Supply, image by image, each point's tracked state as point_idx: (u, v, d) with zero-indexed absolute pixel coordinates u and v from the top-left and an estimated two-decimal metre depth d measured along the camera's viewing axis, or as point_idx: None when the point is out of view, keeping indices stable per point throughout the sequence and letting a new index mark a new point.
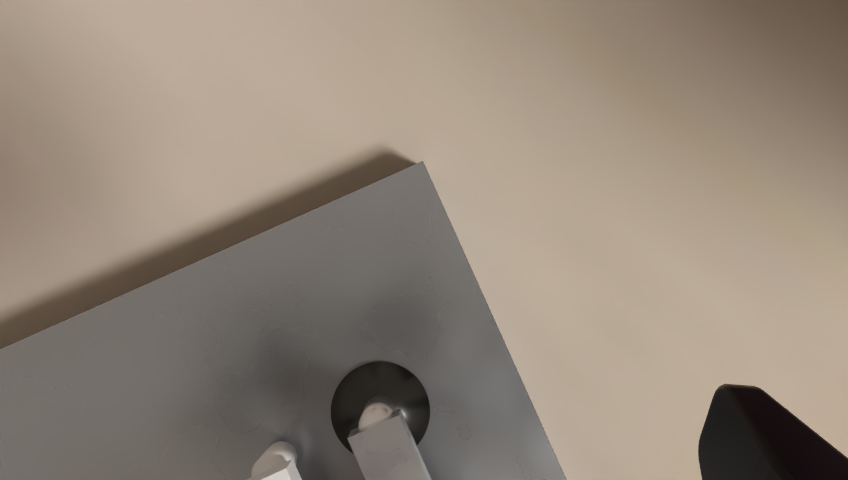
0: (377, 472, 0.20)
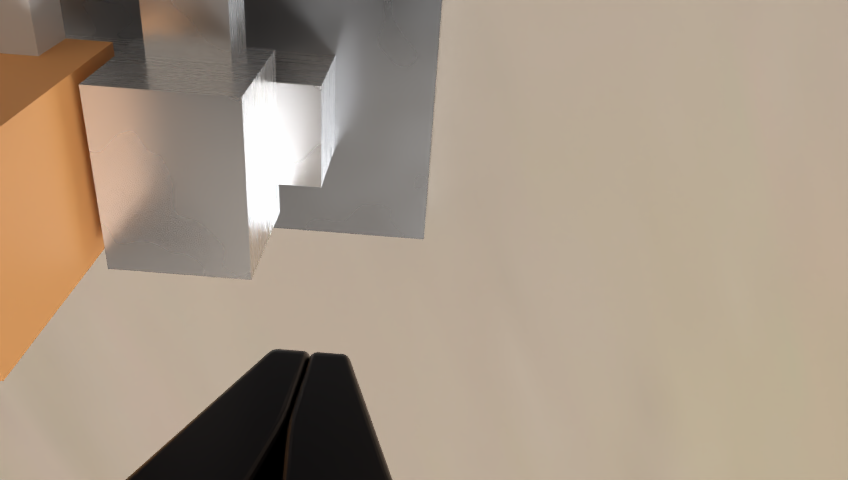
0: None
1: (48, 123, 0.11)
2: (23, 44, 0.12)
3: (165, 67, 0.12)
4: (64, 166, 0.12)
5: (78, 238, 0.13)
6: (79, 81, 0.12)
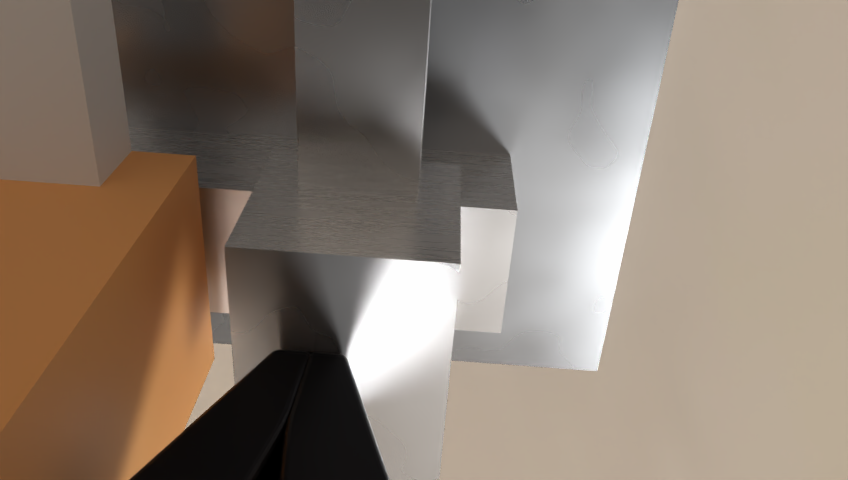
0: None
1: (125, 304, 0.08)
2: (79, 171, 0.09)
3: (331, 206, 0.09)
4: (141, 353, 0.08)
5: (156, 438, 0.09)
6: (160, 226, 0.09)
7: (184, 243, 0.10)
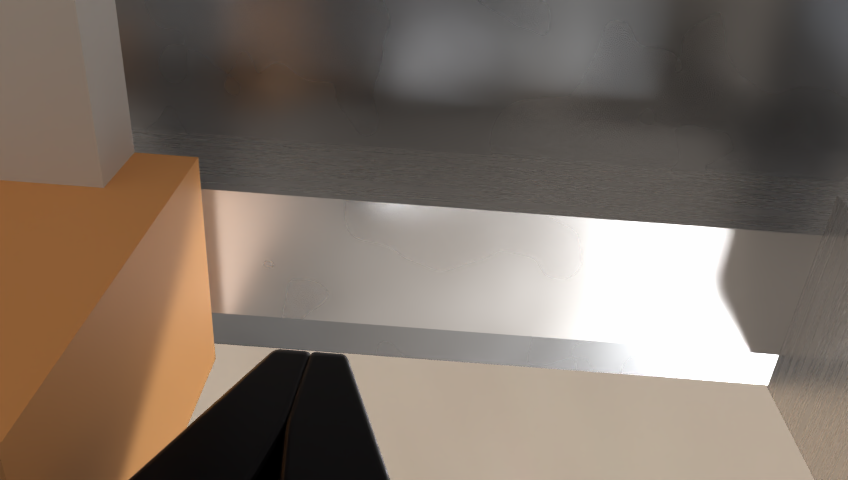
0: None
1: (129, 303, 0.08)
2: (83, 172, 0.09)
3: None
4: (144, 353, 0.08)
5: (158, 438, 0.09)
6: (163, 227, 0.09)
7: (185, 244, 0.10)
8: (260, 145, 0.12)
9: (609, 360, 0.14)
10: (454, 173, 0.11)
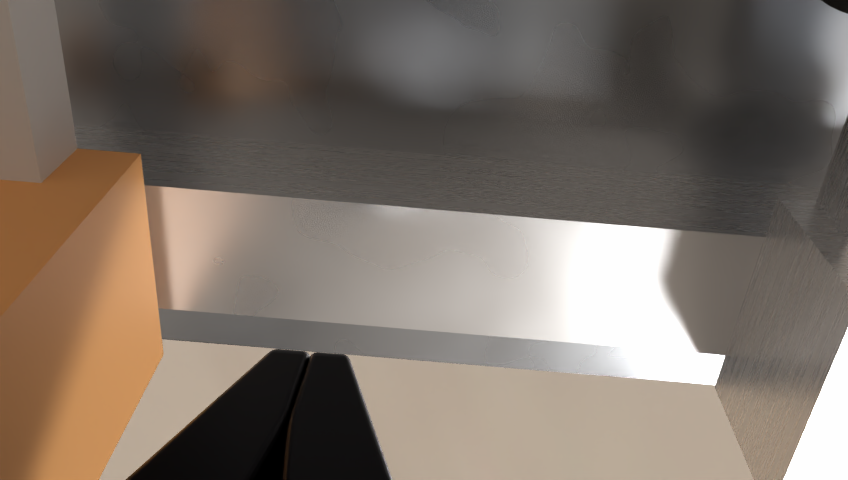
0: None
1: (57, 297, 0.08)
2: (20, 167, 0.09)
3: None
4: (75, 345, 0.09)
5: (94, 431, 0.09)
6: (98, 222, 0.09)
7: (127, 240, 0.10)
8: (215, 143, 0.12)
9: (565, 360, 0.14)
10: (405, 172, 0.12)
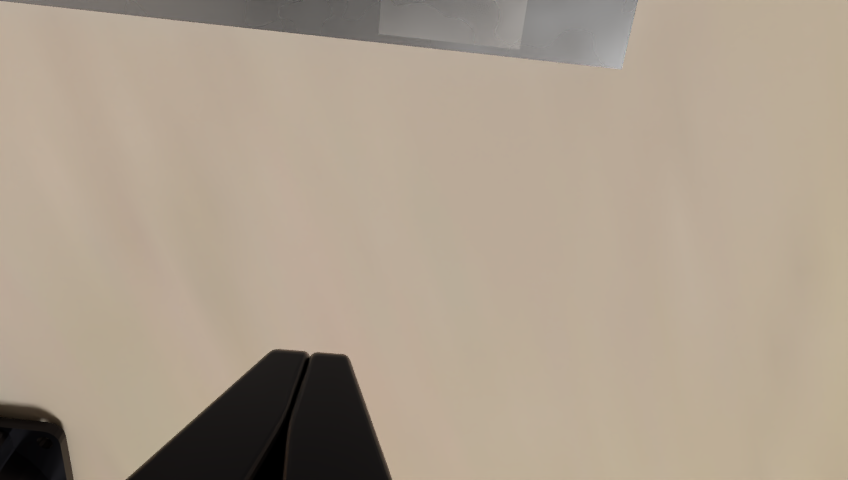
0: None
1: None
2: None
3: None
4: None
5: None
6: None
7: None
8: None
9: (309, 22, 0.18)
10: None
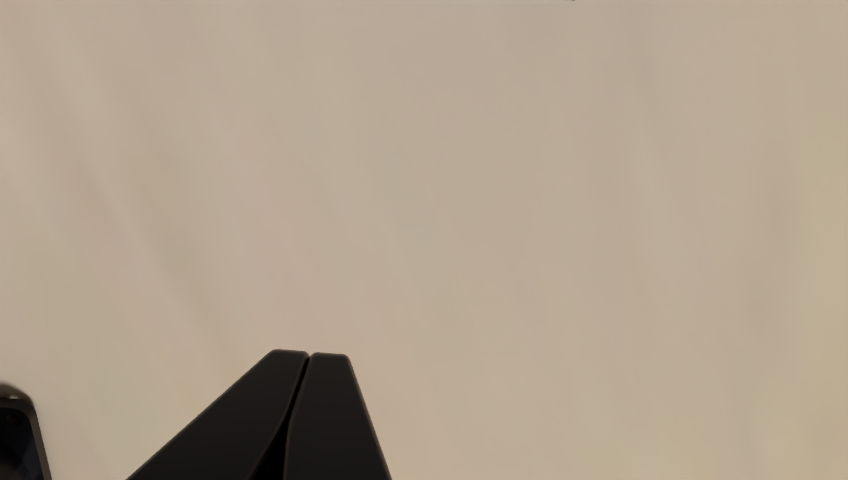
0: None
1: None
2: None
3: None
4: None
5: None
6: None
7: None
8: None
9: None
10: None
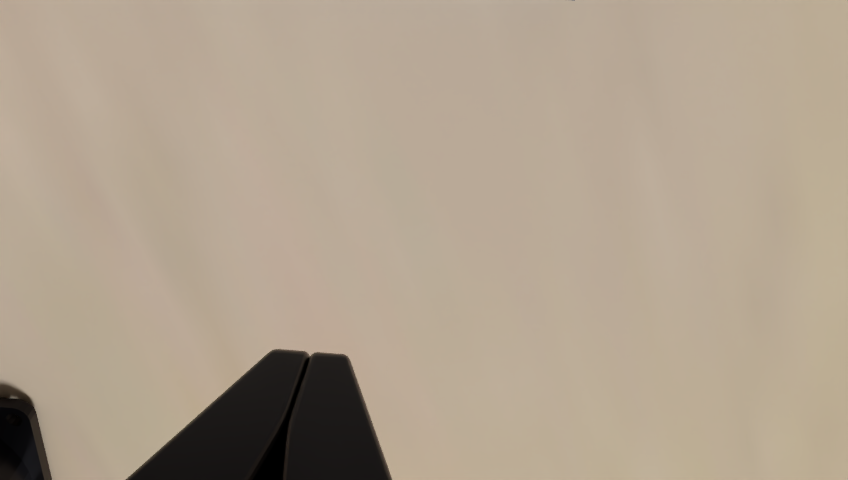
0: None
1: None
2: None
3: None
4: None
5: None
6: None
7: None
8: None
9: None
10: None
